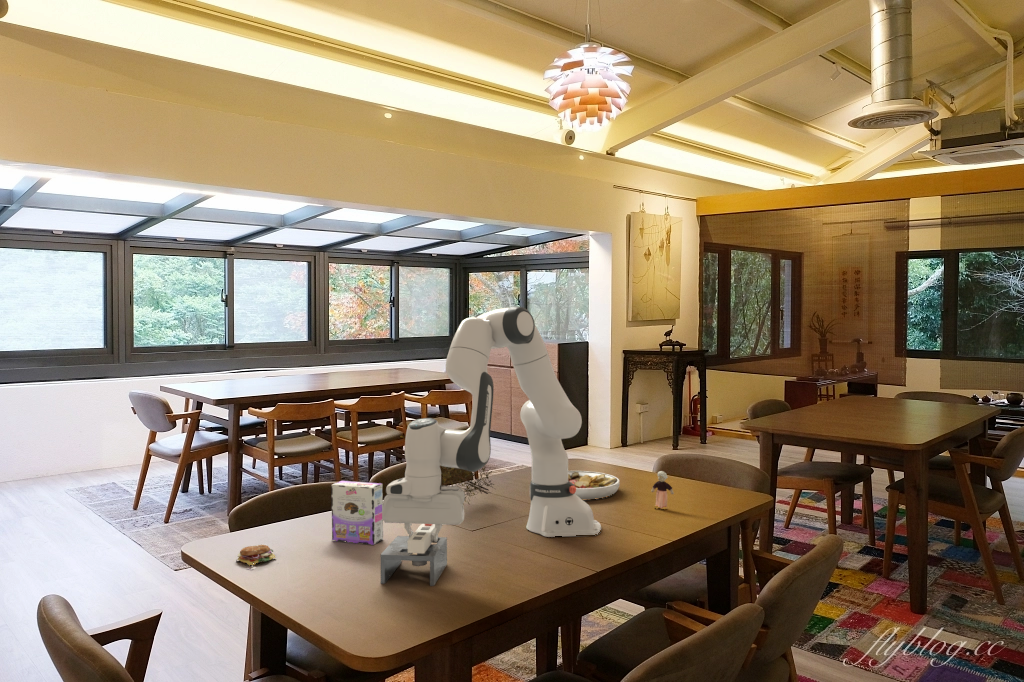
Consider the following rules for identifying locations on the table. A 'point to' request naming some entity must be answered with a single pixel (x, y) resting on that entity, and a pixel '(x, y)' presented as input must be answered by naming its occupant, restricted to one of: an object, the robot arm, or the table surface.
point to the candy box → (357, 512)
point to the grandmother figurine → (662, 490)
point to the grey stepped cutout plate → (413, 557)
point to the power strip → (421, 541)
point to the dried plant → (466, 480)
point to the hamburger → (255, 554)
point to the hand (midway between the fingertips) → (423, 540)
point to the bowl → (593, 484)
